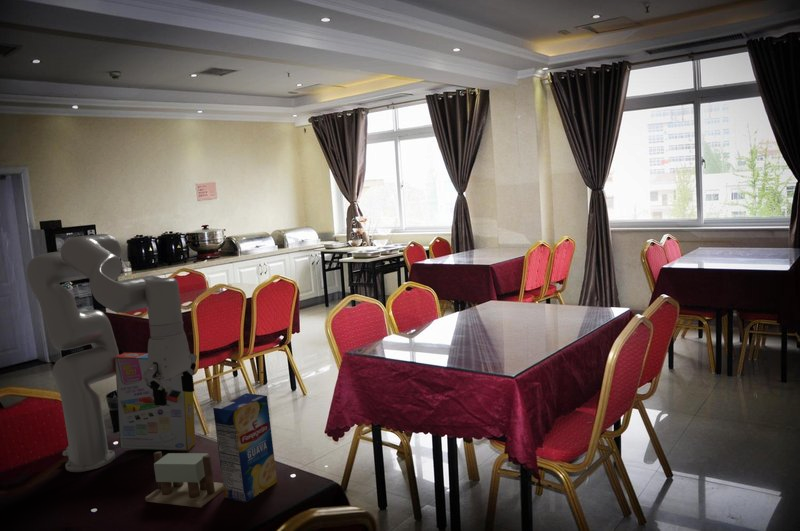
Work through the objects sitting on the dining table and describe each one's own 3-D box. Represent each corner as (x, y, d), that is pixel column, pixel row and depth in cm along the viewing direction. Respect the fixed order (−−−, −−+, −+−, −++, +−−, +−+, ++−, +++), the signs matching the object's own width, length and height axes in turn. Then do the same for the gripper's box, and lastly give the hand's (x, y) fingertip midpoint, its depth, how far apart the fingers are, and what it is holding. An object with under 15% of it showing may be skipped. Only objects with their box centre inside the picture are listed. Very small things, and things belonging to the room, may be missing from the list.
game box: (196, 444, 182) (193, 353, 179) (188, 452, 177) (184, 358, 174) (128, 441, 184) (124, 351, 181) (118, 448, 179) (114, 356, 176)
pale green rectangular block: (156, 481, 148) (153, 463, 148) (170, 470, 154) (168, 453, 154) (197, 482, 146) (195, 464, 145) (210, 471, 152) (208, 453, 151)
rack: (145, 501, 149) (139, 461, 147) (173, 482, 158) (168, 444, 157) (201, 507, 143) (195, 466, 142) (227, 487, 152) (222, 448, 151)
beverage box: (224, 497, 147) (212, 408, 144) (256, 477, 156) (246, 393, 154) (245, 502, 143) (233, 411, 141) (277, 481, 153) (267, 395, 150)
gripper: (179, 321, 159) (186, 386, 161) (127, 338, 143) (136, 409, 145) (203, 321, 156) (210, 387, 158) (153, 339, 140) (162, 411, 142)
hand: (175, 398), depth 151 cm, fingers open, 9 cm apart
